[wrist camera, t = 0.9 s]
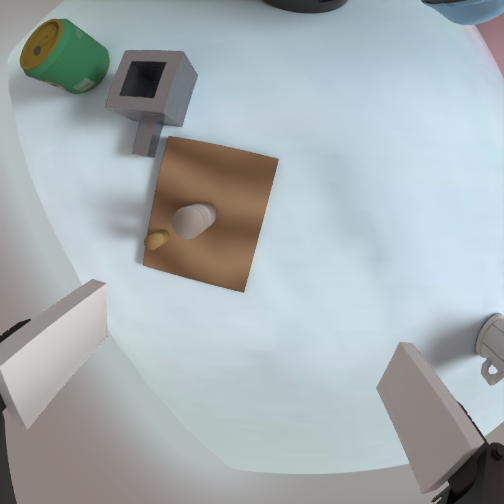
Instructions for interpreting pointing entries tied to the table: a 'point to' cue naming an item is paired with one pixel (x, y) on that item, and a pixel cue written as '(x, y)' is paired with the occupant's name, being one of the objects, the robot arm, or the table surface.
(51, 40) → the beverage can
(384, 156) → the table surface
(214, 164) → the post base
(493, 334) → the cup
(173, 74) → the grey hollow square block
